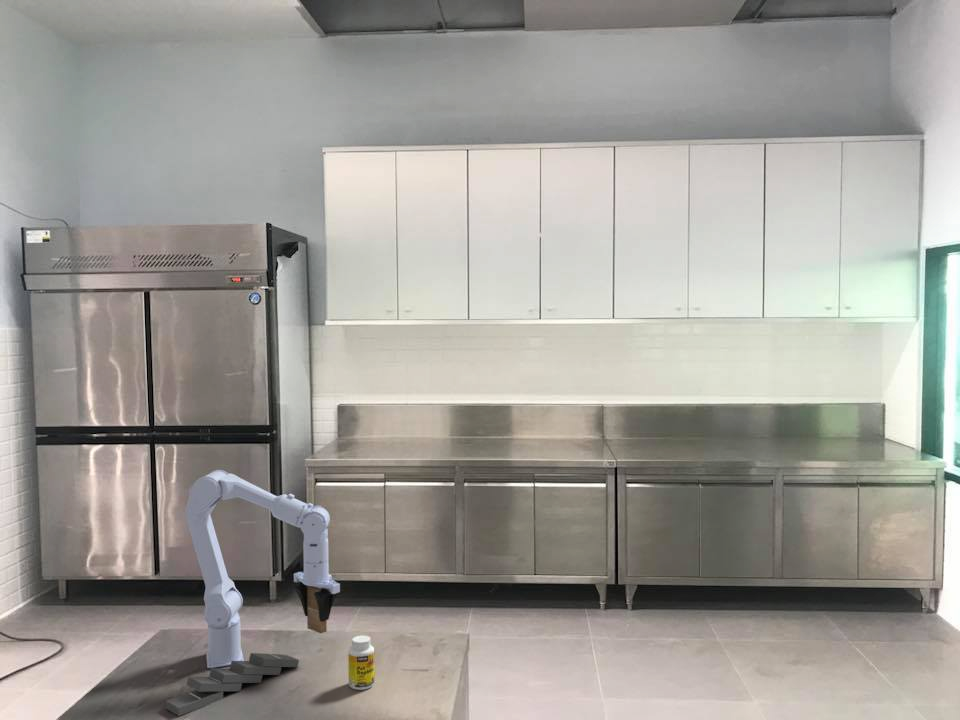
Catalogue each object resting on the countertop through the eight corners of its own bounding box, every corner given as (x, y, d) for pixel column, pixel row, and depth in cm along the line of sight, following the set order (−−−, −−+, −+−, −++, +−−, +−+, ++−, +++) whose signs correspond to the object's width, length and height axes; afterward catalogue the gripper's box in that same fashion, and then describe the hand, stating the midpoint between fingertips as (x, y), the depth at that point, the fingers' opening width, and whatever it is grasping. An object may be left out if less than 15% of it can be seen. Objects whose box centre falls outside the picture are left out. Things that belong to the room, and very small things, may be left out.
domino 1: (209, 684, 167) (165, 700, 159) (223, 690, 164) (178, 707, 156) (209, 692, 167) (165, 709, 159) (223, 699, 164) (178, 716, 156)
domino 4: (268, 661, 179) (231, 660, 171) (281, 666, 176) (245, 666, 168) (265, 669, 178) (229, 668, 171) (279, 675, 175) (243, 674, 168)
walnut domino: (313, 626, 186) (312, 584, 185) (327, 631, 182) (326, 588, 182) (307, 628, 184) (306, 586, 184) (320, 633, 181) (320, 590, 181)
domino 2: (229, 676, 171) (188, 676, 163) (242, 682, 168) (201, 682, 160) (227, 685, 170) (186, 685, 163) (240, 691, 167) (198, 692, 160)
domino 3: (249, 668, 175) (211, 667, 167) (262, 674, 172) (224, 674, 164) (247, 677, 174) (208, 676, 167) (260, 683, 171) (222, 683, 164)
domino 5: (285, 653, 183) (250, 652, 175) (299, 659, 179) (264, 658, 172) (283, 662, 182) (248, 661, 175) (297, 667, 179) (262, 666, 172)
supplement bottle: (355, 693, 166) (354, 645, 165) (344, 683, 170) (343, 637, 170) (379, 686, 169) (378, 640, 168) (367, 677, 173) (367, 631, 173)
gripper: (349, 561, 181) (350, 619, 182) (310, 550, 190) (310, 605, 191) (325, 568, 176) (326, 628, 176) (286, 557, 185) (287, 614, 185)
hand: (316, 617), depth 183 cm, fingers closed on walnut domino, 5 cm apart
